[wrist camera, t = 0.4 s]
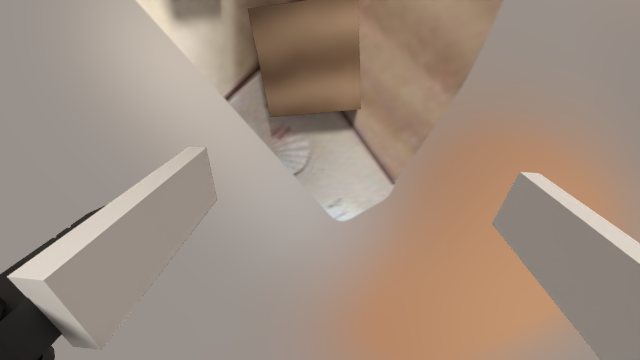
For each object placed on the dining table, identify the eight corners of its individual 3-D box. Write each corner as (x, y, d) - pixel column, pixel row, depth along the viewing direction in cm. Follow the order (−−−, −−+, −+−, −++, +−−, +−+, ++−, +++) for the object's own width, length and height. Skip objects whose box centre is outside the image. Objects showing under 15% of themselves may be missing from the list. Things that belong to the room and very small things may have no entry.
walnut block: (258, 12, 30) (247, 8, 27) (356, -2, 29) (358, -8, 25) (277, 109, 36) (270, 117, 32) (359, 102, 34) (360, 109, 31)
